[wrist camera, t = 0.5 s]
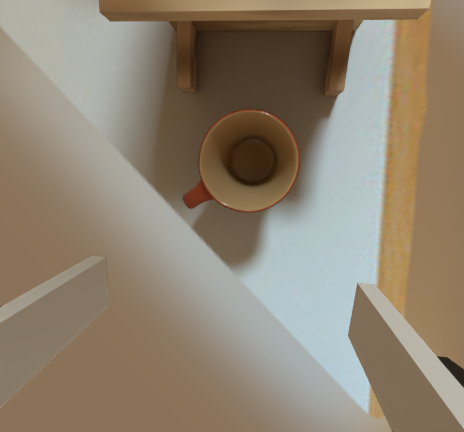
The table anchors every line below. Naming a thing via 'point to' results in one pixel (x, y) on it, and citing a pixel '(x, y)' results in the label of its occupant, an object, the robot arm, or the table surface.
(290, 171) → the mug
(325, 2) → the wooden standing sign
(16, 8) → the table surface
